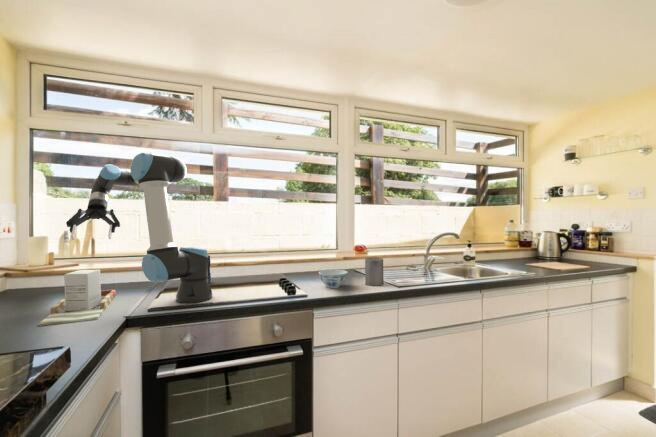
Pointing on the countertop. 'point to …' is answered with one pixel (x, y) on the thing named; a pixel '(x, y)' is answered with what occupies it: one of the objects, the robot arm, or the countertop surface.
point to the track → (78, 315)
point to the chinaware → (333, 277)
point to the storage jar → (209, 270)
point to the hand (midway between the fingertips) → (91, 237)
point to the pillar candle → (374, 271)
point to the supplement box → (82, 290)
